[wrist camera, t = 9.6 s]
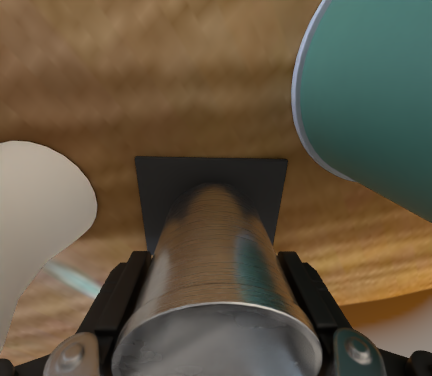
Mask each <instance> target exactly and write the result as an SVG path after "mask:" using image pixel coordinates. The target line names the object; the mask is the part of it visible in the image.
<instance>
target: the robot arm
mask: <svg viewBox="0 0 432 376" xmlns="http://www.w3.org/2000/svg"><path fill="white" fill-rule="evenodd" d="M277 258H278V260H279V262H280V265H281V267H282V269H283V271H284V274H285V276H286V278H287V281H288V283H289V285H290V288H291V290H292V292H293V294H294V297H295V299H296V301H297V304H298V306H299V308H300V309H301V310H302V311H303V312H304V313H305V314H306V315H307V317H308V318H309V320H310V321H311V323H312V325H313V327H314V330H315V332H316V334H317V336H318V338H319V341H320V343H321V346H322V350H323V364H322V367H321V370H320V372H319V374H318V376H432V353H430V352H427V351H415V352H414V353H413V354H412V355H411V356H410V358H407V357H404V356H400V355H397V354H394V353H391V352H388V351H385V350H382V349H379V348H377V347H376V346H375V345H374V344H373V343H372V342H371V341H370V340H369V339H368V338H367V337H366V336H364V335H363V334H362V333H360V332H358V331H356V330H354V329H353V328H352V327H351V325H350V324H349V322H348V320H347V319H346V318H345V316H344V314H343V313H342V311H341V309H340V308H339V306H338V305H337V303H336V301H335V300H334V298H333V297H332V295H331V293H330V292H329V291H328V289H327V287H326V285H325V284H324V283H323V281H322V279H321V278H320V276H319V274H318V273H317V271H316V270H315V269H314V268H312V267H311V266H310V265H309V264H308V263H302V262H301V260H300V258H299V257H298V255H297V253H296V252H294V251H284V252H279V253H278V256H277ZM151 260H152V259H151V253H150V251H133V252H132V254H131V256H130V258H129V260H128V262H127V263H120V264H119V265H118V266H116V267H115V268H114V269H113V270H112V271H111V272H110V274H109V276H108V278H107V279H106V281H105V284H104V285H103V287H102V288H101V290H100V293H99V294H98V295H97V297H96V299H95V301H94V302H93V304H92V306H91V308H90V309H89V311H88V313H87V315H86V316H85V318H84V320H83V322H82V324H81V325H80V327H79V329H78V330H77V332H76V333H75V335H73V336H71V337H69V338H67V339H66V340H64V341H63V342H62V343H60V344H59V345H58V346H57V347H56V348H55V350H54V351H53V352H52V353H51V354H49V355H46V356H44V357H41V358H38V359H35V360H32V361H30V362H27V363H24V364H21V365H18V366H15V367H14V366H13V365H12V363H11V362H10V361H9V360H8V359H0V376H112V373H111V357H112V353H113V350H114V348H115V345H116V342H117V340H118V337H119V334H120V332H121V330H122V328H123V326H124V324H125V323H126V322H127V321H128V319H129V318H130V317H131V316H132V314H133V311H134V308H135V305H136V302H137V300H138V297H139V294H140V291H141V288H142V286H143V283H144V280H145V277H146V274H147V272H148V269H149V266H150V263H151Z"/></svg>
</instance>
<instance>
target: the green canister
mask: <svg viewBox="0 0 432 376" xmlns="http://www.w3.org/2000/svg"><path fill="white" fill-rule="evenodd" d="M291 106H292V113H293V120H294V124H295V127H296V131H297V134H298V136H299V138H300V141H301V143H302V145H303V146H304V148H305V149H306V151H307V153H308V154H309V155H310V156H311V157H312V158H313V160H314V161H315V162H316V163H318V164H319V165H320V166H321V167H323V168H324V169H325V170H327V171H329V172H331V173H332V174H334V175H336V176H338V177H340V178H343V179H346V180H349V181H354V182H358V183H360V184H362V185H364V186H365V187H367V188H369V189H371V190H373V191H375V192H376V193H378V194H380V195H382V196H384V197H385V198H387V199H389V200H391V201H393V202H394V203H396V204H398V205H400V206H402V207H404V208H405V209H407V210H409V211H411V212H413V213H414V214H416V215H418V216H420V217H422V218H423V219H425V220H427V221H429V222H431V223H432V0H322V2H321V4H320V5H319V7H318V9H317V11H316V12H315V14H314V16H313V18H312V19H311V21H310V24H309V26H308V28H307V30H306V33H305V35H304V37H303V40H302V43H301V46H300V49H299V52H298V55H297V58H296V63H295V67H294V72H293V79H292V89H291Z"/></svg>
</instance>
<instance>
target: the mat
mask: <svg viewBox="0 0 432 376" xmlns="http://www.w3.org/2000/svg"><path fill="white" fill-rule="evenodd" d="M287 164H288V160H287V159H256V158H202V157H148V156H136V157H135V165H136V172H137V179H138V186H139V193H140V200H141V207H142V215H143V222H144V229H145V236H146V243H147V250H148V251H150V253H151V255H154V252H155V249H156V246H157V244H158V241H159V238H160V235H161V233H162V230H163V227H164V224H165V221H166V219H167V216H168V213H169V210H170V208H171V206H172V204H173V202H174V201H175V199H176V198H177V197H178V196H179V195H180V194H182V193H183V192H184V191H186V190H187V189H189V188H191V187H193V186H196V185H199V184H203V183H211V182H217V183H224V184H228V185H231V186H234V187H236V188H238V189H240V190H241V191H243V192H244V193H245V194H246V195H248V196H249V198H250V199H251V200H252V201H253V203H254V205H255V207H256V209H257V212H258V214H259V216H260V219H261V221H262V223H263V225H264V228H265V230H266V232H267V235H268V237H269V239H270V242H271V244H272V246H273V241H274V236H275V230H276V225H277V219H278V214H279V208H280V203H281V197H282V192H283V186H284V181H285V175H286V170H287Z"/></svg>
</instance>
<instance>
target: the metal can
mask: <svg viewBox="0 0 432 376" xmlns="http://www.w3.org/2000/svg"><path fill="white" fill-rule="evenodd" d="M322 364H323V350H322V346H321V343H320V341H319V338H318V336H317V334H316V332H315V330H314V327H313V325H312V323H311V321H310V320H309V318H308V317H307V315H306V314H305V313H304V312H303V311H302V310H301V309H300V308H299V306H298V304H297V301H296V299H295V297H294V294H293V292H292V290H291V288H290V285H289V283H288V281H287V278H286V276H285V274H284V271H283V269H282V267H281V265H280V262H279V260H278V258H277V255H276V253H275V251H274V248H273V246H272V244H271V242H270V239H269V237H268V235H267V232H266V230H265V228H264V225H263V223H262V221H261V219H260V216H259V214H258V212H257V209H256V207H255V205H254V203H253V201H252V200H251V199H250V198H249V196H248V195H246V194H245V193H244V192H243V191H241V190H240V189H238V188H236V187H234V186H231V185H228V184H224V183H217V182H211V183H203V184H199V185H196V186H193V187H191V188H189V189H187V190H186V191H184V192H183V193H182V194H180V195H179V196H178V197H177V198H176V199H175V201H174V202H173V204H172V206H171V208H170V210H169V213H168V216H167V219H166V221H165V224H164V227H163V230H162V233H161V235H160V238H159V241H158V244H157V246H156V249H155V252H154V255H153V258H152V260H151V263H150V266H149V269H148V272H147V274H146V277H145V280H144V283H143V286H142V288H141V291H140V294H139V297H138V300H137V302H136V305H135V308H134V311H133V314H132V316H131V317H130V318H129V319H128V321H127V322H126V323H125V324H124V326H123V328H122V330H121V332H120V334H119V337H118V340H117V342H116V345H115V348H114V350H113V353H112V357H111V373H112V376H318V374H319V372H320V370H321V367H322Z"/></svg>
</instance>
